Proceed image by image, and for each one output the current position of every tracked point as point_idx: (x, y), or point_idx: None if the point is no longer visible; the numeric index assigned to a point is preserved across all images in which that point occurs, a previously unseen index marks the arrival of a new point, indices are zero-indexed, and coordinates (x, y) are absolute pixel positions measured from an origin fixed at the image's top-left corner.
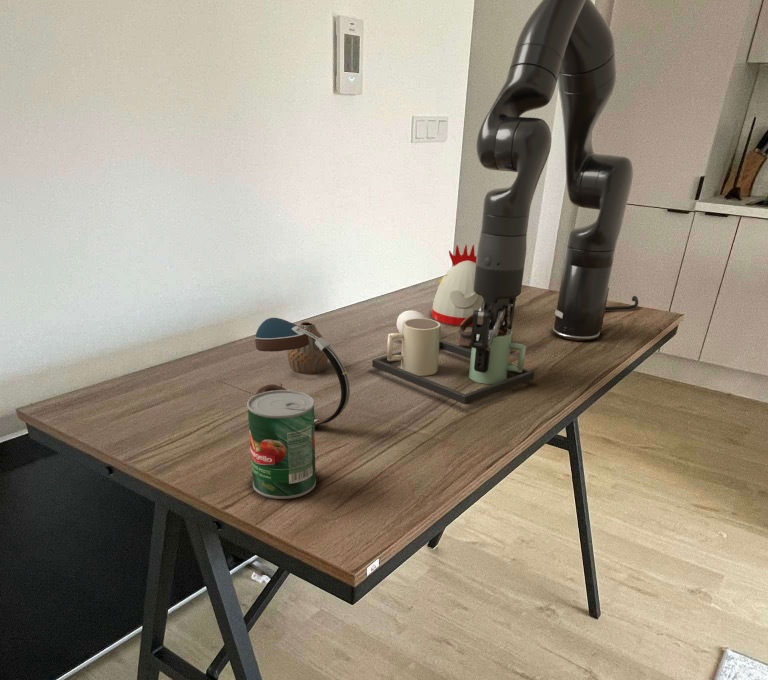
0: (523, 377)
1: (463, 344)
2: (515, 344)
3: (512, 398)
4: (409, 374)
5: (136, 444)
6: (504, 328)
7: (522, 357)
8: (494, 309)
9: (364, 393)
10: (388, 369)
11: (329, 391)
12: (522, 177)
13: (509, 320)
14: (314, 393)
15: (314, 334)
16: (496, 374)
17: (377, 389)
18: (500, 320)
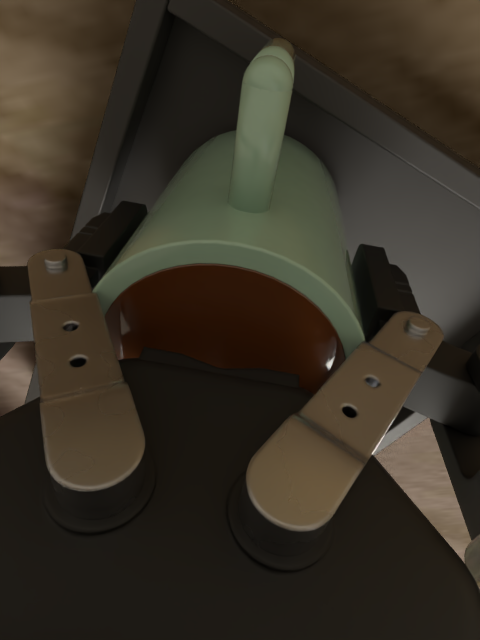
0: (252, 24)
1: None
2: (266, 164)
3: (413, 49)
4: (383, 448)
5: None
6: (118, 310)
7: (293, 62)
8: (469, 630)
9: (443, 480)
10: None
11: (441, 524)
12: None
13: (48, 324)
14: (458, 539)
15: None
16: (331, 189)
17: (408, 464)
18: (329, 431)
